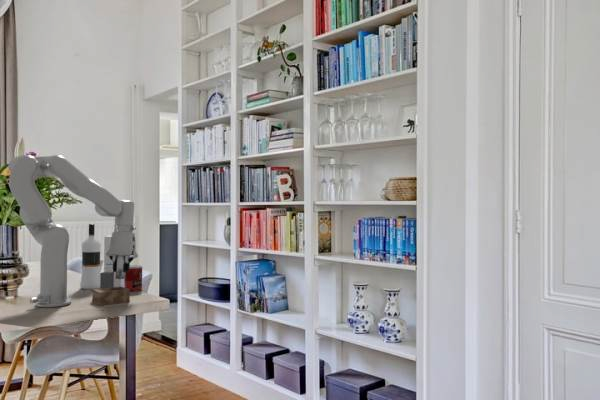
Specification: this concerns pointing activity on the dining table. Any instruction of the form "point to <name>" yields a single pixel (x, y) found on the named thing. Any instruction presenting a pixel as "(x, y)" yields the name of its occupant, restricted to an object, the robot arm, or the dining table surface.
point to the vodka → (91, 261)
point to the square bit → (106, 280)
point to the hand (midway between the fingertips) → (120, 271)
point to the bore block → (110, 295)
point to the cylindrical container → (109, 261)
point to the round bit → (120, 267)
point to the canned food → (133, 278)
